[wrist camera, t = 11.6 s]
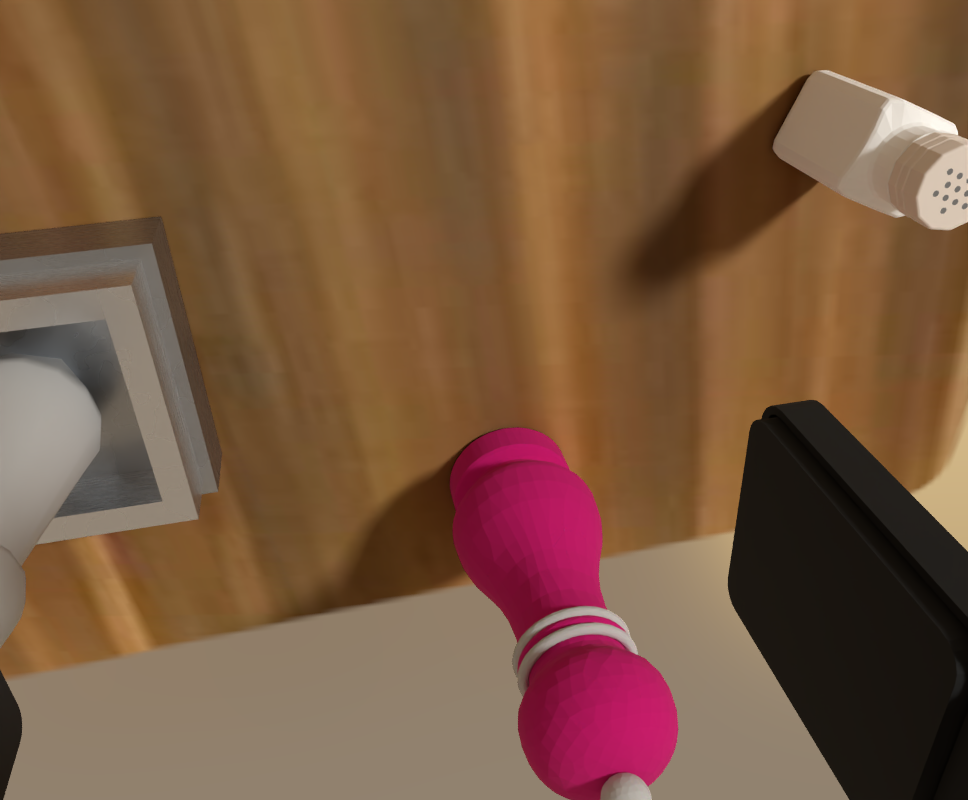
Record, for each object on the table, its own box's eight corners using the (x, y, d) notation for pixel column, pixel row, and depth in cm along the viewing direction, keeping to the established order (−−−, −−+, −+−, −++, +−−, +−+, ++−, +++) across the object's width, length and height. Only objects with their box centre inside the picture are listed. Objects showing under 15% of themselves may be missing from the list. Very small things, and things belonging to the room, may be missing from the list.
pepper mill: (598, 444, 46) (776, 773, 29) (529, 542, 49) (656, 895, 32) (481, 398, 43) (607, 736, 27) (416, 506, 46) (491, 873, 29)
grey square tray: (-179, 253, 34) (-252, 315, 29) (161, 216, 36) (143, 269, 31) (-61, 495, 40) (-105, 577, 36) (221, 453, 42) (214, 526, 37)
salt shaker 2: (830, 178, 41) (963, 255, 33) (762, 150, 39) (884, 223, 31) (878, 95, 39) (1031, 155, 31) (809, 62, 38) (951, 116, 30)
